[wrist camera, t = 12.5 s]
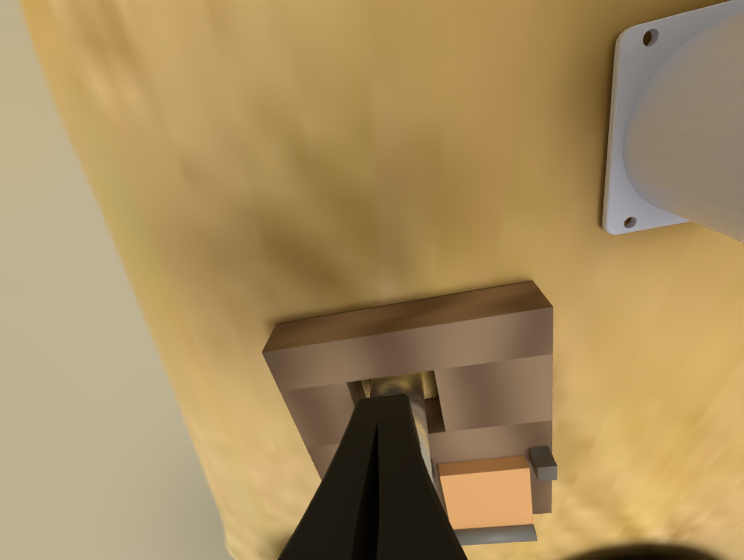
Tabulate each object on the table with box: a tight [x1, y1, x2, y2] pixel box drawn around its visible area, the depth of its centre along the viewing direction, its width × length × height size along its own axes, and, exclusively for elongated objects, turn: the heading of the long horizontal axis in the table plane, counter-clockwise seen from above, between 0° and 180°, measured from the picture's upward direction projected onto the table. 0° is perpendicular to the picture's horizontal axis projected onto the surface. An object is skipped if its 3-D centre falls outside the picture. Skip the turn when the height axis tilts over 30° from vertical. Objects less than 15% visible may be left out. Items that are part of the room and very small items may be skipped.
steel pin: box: [370, 372, 433, 483], centre depth 18 cm, size 3×3×7 cm
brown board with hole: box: [262, 281, 557, 520], centre depth 21 cm, size 14×16×4 cm
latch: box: [438, 456, 537, 546], centre depth 21 cm, size 5×6×1 cm
